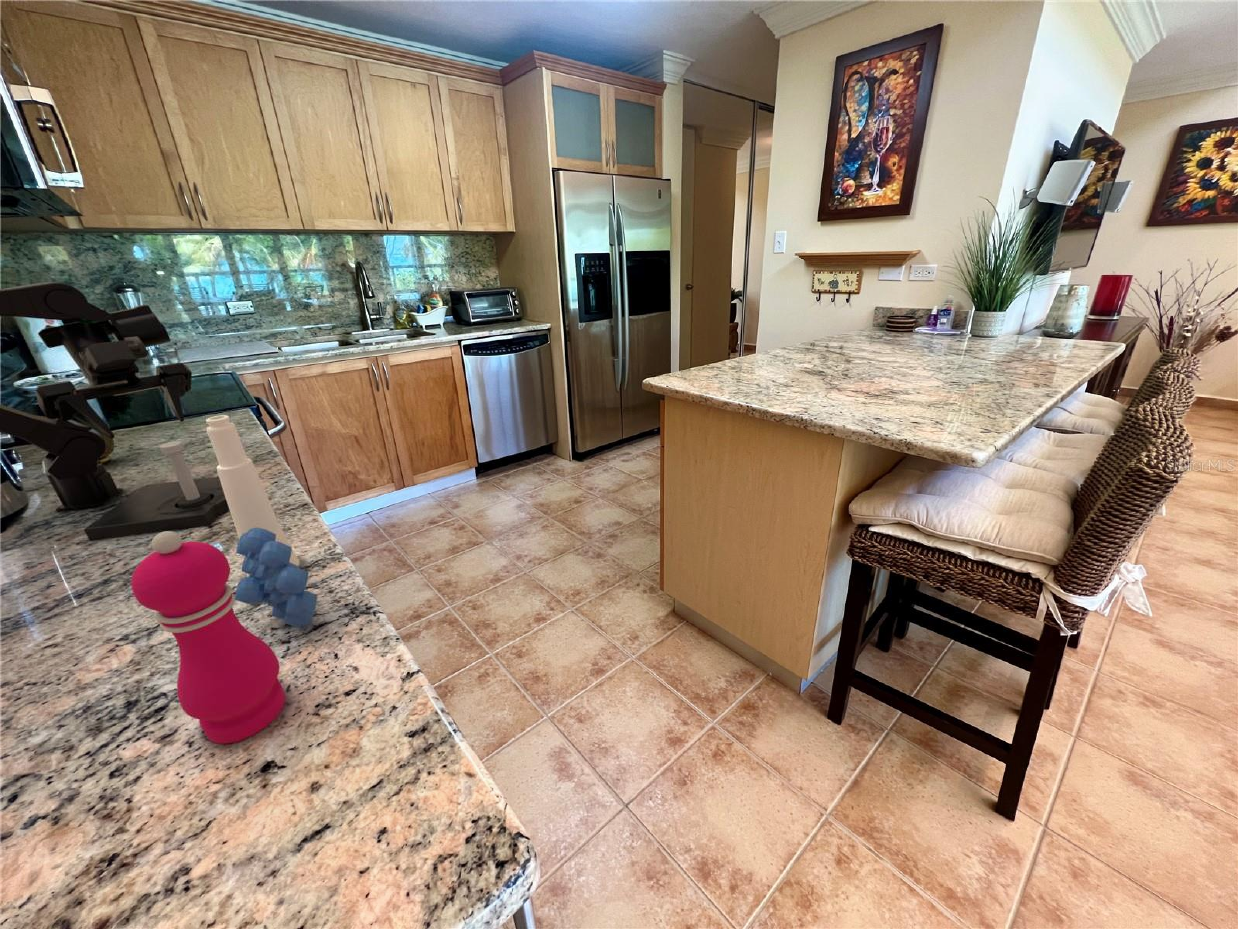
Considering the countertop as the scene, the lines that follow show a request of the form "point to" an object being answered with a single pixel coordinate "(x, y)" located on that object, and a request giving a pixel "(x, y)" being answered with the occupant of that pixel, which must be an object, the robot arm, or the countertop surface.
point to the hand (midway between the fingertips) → (149, 428)
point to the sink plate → (159, 510)
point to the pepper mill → (209, 639)
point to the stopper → (184, 476)
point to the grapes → (274, 578)
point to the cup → (106, 450)
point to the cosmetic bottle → (242, 483)
